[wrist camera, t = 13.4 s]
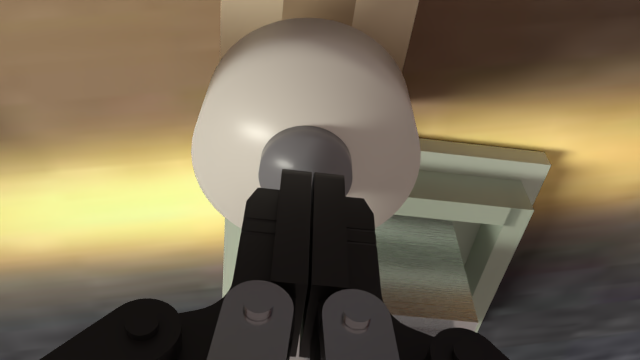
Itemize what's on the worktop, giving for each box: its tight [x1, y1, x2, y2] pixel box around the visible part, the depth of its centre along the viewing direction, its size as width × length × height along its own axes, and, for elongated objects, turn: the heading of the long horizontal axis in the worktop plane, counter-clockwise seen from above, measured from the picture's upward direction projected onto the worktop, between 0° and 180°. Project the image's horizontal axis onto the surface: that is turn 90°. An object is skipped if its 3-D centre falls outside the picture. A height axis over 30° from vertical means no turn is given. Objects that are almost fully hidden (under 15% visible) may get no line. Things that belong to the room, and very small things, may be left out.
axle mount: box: [220, 0, 419, 72], centre depth 21 cm, size 6×6×4 cm
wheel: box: [191, 18, 421, 229], centre depth 17 cm, size 6×6×7 cm
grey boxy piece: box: [289, 215, 478, 360], centre depth 25 cm, size 5×7×7 cm
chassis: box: [222, 138, 551, 332], centre depth 28 cm, size 12×14×3 cm
